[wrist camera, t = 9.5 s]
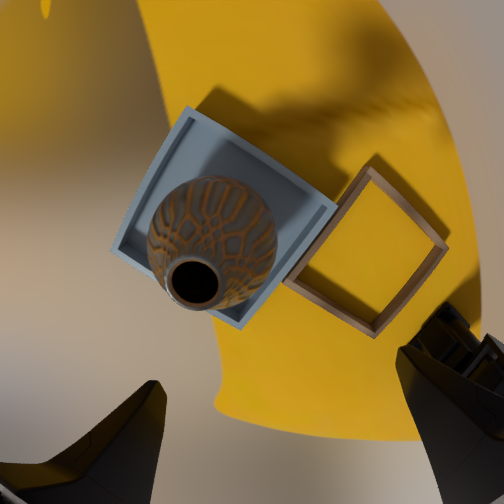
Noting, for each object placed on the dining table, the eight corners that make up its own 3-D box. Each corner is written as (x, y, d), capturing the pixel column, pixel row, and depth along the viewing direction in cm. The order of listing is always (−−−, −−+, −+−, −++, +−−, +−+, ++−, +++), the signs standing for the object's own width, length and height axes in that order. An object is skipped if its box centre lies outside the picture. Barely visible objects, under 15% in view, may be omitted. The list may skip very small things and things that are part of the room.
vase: (181, 161, 17) (118, 173, 8) (285, 185, 17) (313, 218, 9) (164, 257, 19) (111, 330, 11) (258, 280, 20) (260, 368, 11)
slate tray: (330, 200, 18) (338, 206, 16) (241, 315, 21) (240, 330, 20) (194, 109, 16) (187, 105, 14) (121, 241, 19) (109, 250, 17)
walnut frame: (441, 243, 19) (449, 248, 18) (369, 331, 22) (374, 339, 21) (364, 165, 17) (370, 166, 16) (281, 276, 20) (282, 283, 19)
